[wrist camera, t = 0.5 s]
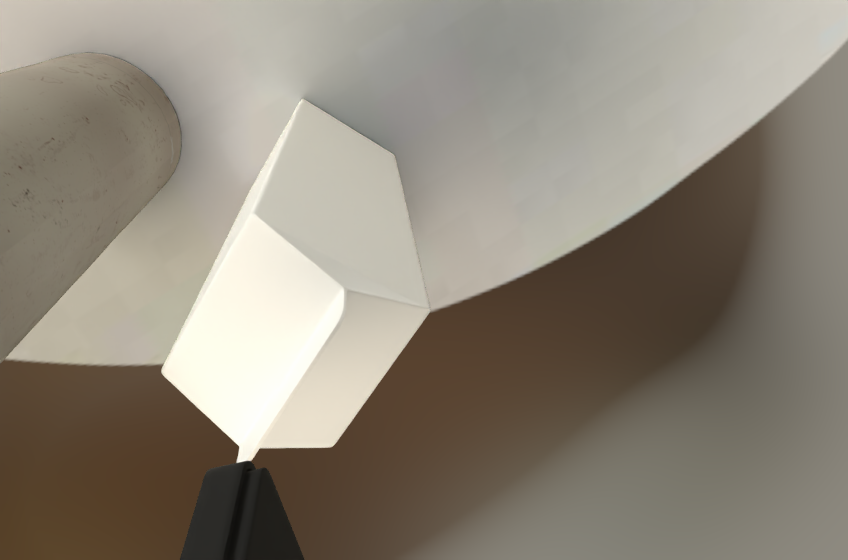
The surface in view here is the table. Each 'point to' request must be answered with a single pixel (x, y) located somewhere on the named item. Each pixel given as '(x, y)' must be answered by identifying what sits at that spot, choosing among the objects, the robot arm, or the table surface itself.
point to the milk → (304, 293)
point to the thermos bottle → (73, 174)
